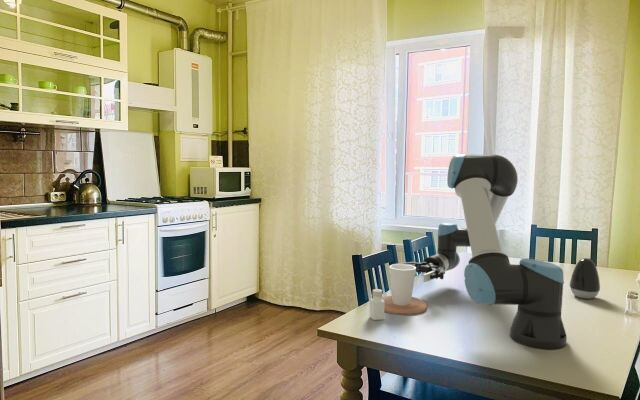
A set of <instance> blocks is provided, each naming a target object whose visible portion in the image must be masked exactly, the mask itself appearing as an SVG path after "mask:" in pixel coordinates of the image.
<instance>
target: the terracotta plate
mask: <svg viewBox="0 0 640 400" xmlns="http://www.w3.org/2000/svg"><path fill="white" fill-rule="evenodd" d="M382 299H383V300H384V302H385V306H384V313H388V314H391V315H392V314H393V315H401V316H402V315H403V316H411V315H413V316H414V315H420V314H423V313H424V312H427V310H428V303H427V302H426V301H425V300H423V299H420V298H418V297H413V296H412V297H411V302H410V304H409V305H396V304H394V303H393V301H392V295H387V296H386V295H385V296H382Z"/></svg>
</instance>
